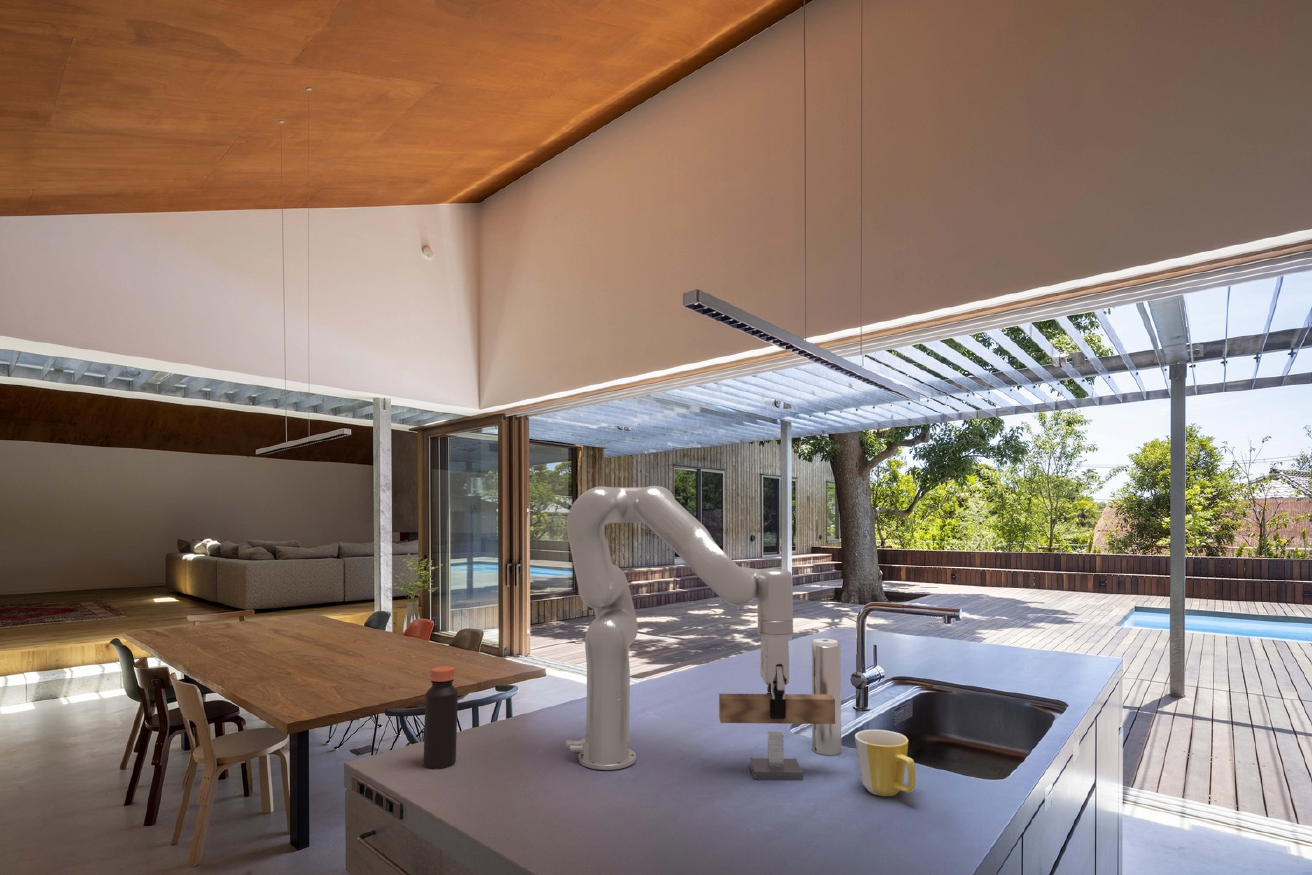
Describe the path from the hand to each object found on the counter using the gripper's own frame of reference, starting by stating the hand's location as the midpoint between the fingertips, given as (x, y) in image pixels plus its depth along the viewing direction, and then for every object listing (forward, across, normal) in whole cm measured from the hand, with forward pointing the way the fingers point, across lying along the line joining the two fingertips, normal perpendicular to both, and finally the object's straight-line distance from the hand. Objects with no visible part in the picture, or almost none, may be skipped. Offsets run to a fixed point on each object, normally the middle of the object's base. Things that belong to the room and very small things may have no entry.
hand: (776, 714), depth 156 cm
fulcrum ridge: (+12, 0, 0) cm, 12 cm away
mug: (+12, +11, +20) cm, 26 cm away
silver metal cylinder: (+12, -14, +14) cm, 23 cm away
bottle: (+12, -3, -72) cm, 73 cm away
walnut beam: (+1, 0, 0) cm, 1 cm away
